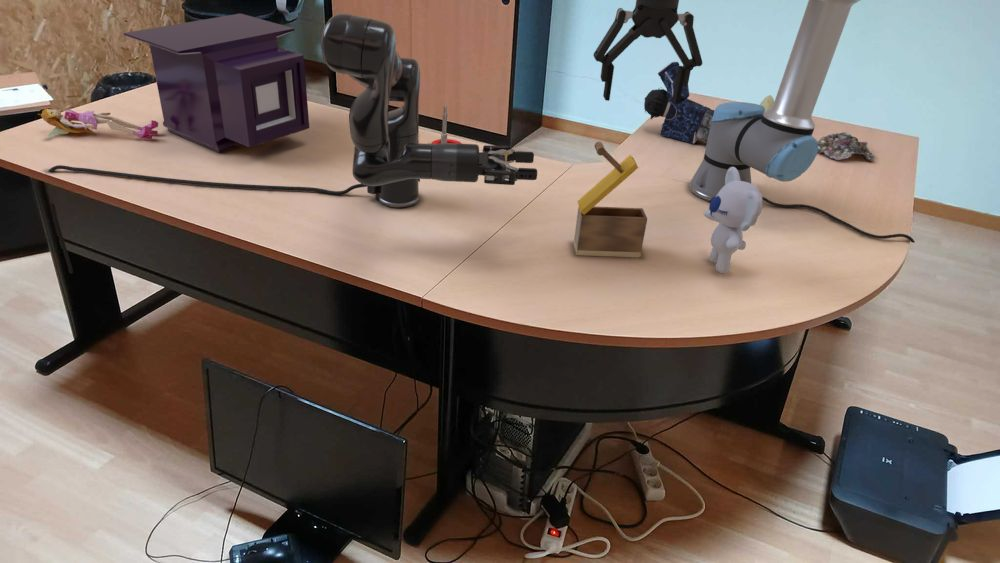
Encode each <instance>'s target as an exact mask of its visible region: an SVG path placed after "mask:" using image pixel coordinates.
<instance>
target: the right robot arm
mask: <svg viewBox="0 0 1000 563" xmlns="http://www.w3.org/2000/svg"><path fill="white" fill-rule="evenodd" d="M860 1H861V0H808V1H807V4H806V7H805V10H804V13H803V16H802V19H801V21H800V26H799V27H798V31H797V34H796V36H795V39H794V43H793V45H792V49H791V51H790V54H789V56H788V57H789V58H788V61H787V64H786V65H785V66H786V67H785V70H784V72H783V75H782V79H781V81H780V84H779V87H778V90H777V93H776V96H775V99H774V105H773V107H772V108H771V109H769V110H768V111H766V112H765V108H764V107H763V106H761V105H760V104H758V103H752V102H745V101H744V102H743V101H730V102H722V103H721V104H718V105H716V107H715V109H714V115H713V118H712V120H711V125H710V130H709V135H708V140H707V142H706V145H705V150H704V154H703V159H702V161H701V163H700V165H699V166H698V168H697V169H696V171H695V173H694V174H693V176H692V179H691V181H690V184H689V189H690V191H691V193H693V194H694V196H696V197H698V198H700V199H702V200H704V201H707V202H710V200H711V199H712V198H713V197H714V196H715V195H716V196H717V194H718V193H719V191H720V190H721V189H722V188H723V187H724V186H725V177H726V173H727V171H728V169H729V168H731V167H735V168H736V169H737V170H738V172H739V176H740V181H744V182H748V183H751V184H752V174H751V168H752V169H754V170H756V171H758V172H759V173H762V174H764V175H765V176H766V177H768V178H771V179H774V180H776V181H779V182H784V183H785V182H791V181H793V180H796V179H798V178H799V177H801V176H802V175H803V174H804V173H805V172H806V171H807V170H808V169H809V168H810V167H811V166H812V164H813V163H814V161H815V159H816V157H817V155H818V153H819V152H818V140H817V139H816V137H814V136H813V134H814V131H815V128H816V124H815V122H814V121H813V118H812V115H813V113H814V110H815V107H816V104H817V102H818V98H819V96H820V94H821V91H822V88H823V85H824V83H825V80H826V77H827V75H828V72H829V69H830V66H831V65H832V64H831V63H832V61H833V58H834V56H835V53H836V50H837V47H838V44H839V43H840V39H841V36H842V34H843V31H844V28H845V26H846V22H847V20H848V17H849V14H850V12H851V9H852V7H853V6H854V5H855V4H858V3H859V2H860ZM679 4H680V0H635V6H634V8H633V10H632V11H631V10H625V9H624V8H622V7H619V8H618V9H617V10H616V14H615V16H614V17H615V18H614V20H613V22H612V24H611V25H610V27H609V28H608V30H607V31H606V33H605V35H604V36H603V38H602V39H601V41H600V42H599V45H598V46H597V48H596V49H595V51H594V52H593V58H594V60H595V61H596V62H599V63H601V72H600V80H601V82H602V83H604V87H603V94H602V95H603V99H604V101H607V102H609V101H610V98H611V92H612V87H613V86H612V85H613V77H614V73H615V72H614V71H615V65H614V64H613V62H614V61H615V60H616V59H617V58H618V57H619V56H620V55H621V54H622V53H623V52H624V51H625V50H626V49H627V48H628V47H629V46H630V45H631V44H632V43H633V42H635V41H636V40H637V39H639V37H641V36H642V37H643V38H647V39H648V38H655V39H662V38H663V37H666V39H667V40H668V43H669V44H670V45H671V47H672V49H673V50H674V52H675V53H676V55H677V57H678V59H679V60H680V62H681V64H682V65H679V66H678V70H677V75H676V81H675V86H674V91H673V97H672V100H673V101H674V102H675V104H679V103H680V98H681V92H682V87H683V85H684V86H687V84H688V85H689V81H690V76H691V71H692V70H693V69H694V68H696V67H702V65H703V58H702V54H701V52H700V48H699V44H698V41H697V37H696V34H695V30H694V21H695V16H694V15H693V14H692V13H691V12H690V11H685V12H684V13H678V8H679ZM630 19H631V20H632V23H633V25H632V26H631V27H630V28H629V29H628V31H627V32H626V34H624V35H623V36H622V37H621V38H620V39H619V41H617V42H616V44H614V45H613V46H612V47H611V45H612V44H613V42H614V41H615V40H616V38H617V36H618V35H619V33H620V31H621V30H622V28H623V26H624V24H627V23H628V21H629V20H630ZM678 22H679V24H680V26H682V27H683V31H684V34H685V38H686V42H687V46H688V49H689V51H690V56H691V58H689V57H688V55H687V54H686V51H685V50H684V48H683V47H682V45H681V43H680V42H679V41H678V39H677V37H676V35H675V33H674V31H673V30H672V29H673V28H674V26H675V25H676V24H677V23H678ZM610 47H611V48H610ZM716 196H715V197H716ZM715 197H714V198H715ZM762 201H764V202H765V203H767V204H770V205H771V206H773V207H777V208H785V209H787V208H788V209H789V208H790V209H791V208H803V209H809V210H813V211H815V212H818V213H820V214H823V215H825V216H826V217H828V218H830V219H831V220H833V221H835V222H838V223H839V224H841V225H844V226H846V227H847V228H848V229H851V230H853V231H854V232H857V233H859V234H861V235H863V236H866V237H870V238H872V239H878V240H882V239H883V240H886V239H894V238H905V239H907V240H908V241H909V242H910V243H916V241H915V239H914V238H913V237H912V236H910V235H909V234H905V233H893V234H888V235H887V234H886V235H885V234H884V235H878V234H873V233H870V232H867V231H864V230H861V229H860V228H859V227H856V226H854V225H852V224H850V223H848V222H846V221H844V220H843V219H840V218H838V217H837V216H834V215H832V214H831V213H829V212H827V211H826V210H823V209H821V208H818V207H816V206H814V205H813V206H812V205H809V204H799V203H798V204H796V203H795V204H782V203H776V202H774V201H771V200H769V199H768V198H766V197H765V196H762Z"/></svg>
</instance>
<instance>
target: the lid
mask: <svg viewBox="0 0 1000 563" xmlns="http://www.w3.org/2000/svg"><path fill="white" fill-rule="evenodd" d="M594 149H595V152H596V154H597V155H598V156H600V157H601V156H602V157H603V158H605V160H606V161H608V163H609V164H611V165H612V167H614V168H613V169H612V170H611V171H609V173H608V174H606V175H605V176H604V177H603V178H602V179H601V180H599V181H598V182H597V183H596V184H595V185H594V186H593V187H591V189H590V190H588V191H586V193H585V194H584V195H582V196H581V197H580V198H579V199H578V200H577V206H578V207H579V209H580V212H581V213H582V214H583V215H585V214H586V213H587V212H588V211H589V210H591V209H592V208H593V207H596V205H597V204H599V203H600V202H601V201H602V200H603V199H604V198H606V197H607V196H608V195H609V194H610V193H611V192H612V191H614V190H615V189H616V188H617V187H619V185H620V184H622V183H623V182H624V181H625V180H626V179H628V177H630V176H631V175H633V173H635V172H636V171H637V170H638V169H639V166H638V164H637V162H636V160H635V158H634V157H633V156H632V154H629V155H628V156H627V157H625V159H623V160H622V161H621V162H620V163H619V162H618V161H617V160H616V159H615V157H613V156H612V155H611V154H610V153H609V152H608V151H607V150H606V149H605V146H604V144H603V142H602V141H596V142H595V143H594Z"/></svg>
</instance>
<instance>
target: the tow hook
mask: <svg viewBox="0 0 1000 563" xmlns="http://www.w3.org/2000/svg"><path fill="white" fill-rule="evenodd" d="M447 110H448V106H447V105H443V113H442V124H441V127H442V128H441V130H442V131H441V134H440V139H434V140H433V141H431V144H439V143H455V144H463V143H462V142H460V141H458V140H457V139H451V138H448V134H447V129H448V113H447Z"/></svg>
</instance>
